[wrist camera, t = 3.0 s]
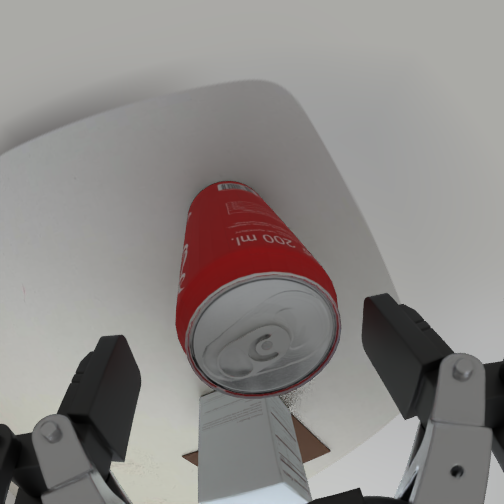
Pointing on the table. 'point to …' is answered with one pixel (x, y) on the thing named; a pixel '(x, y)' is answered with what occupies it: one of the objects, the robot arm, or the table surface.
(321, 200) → the table surface
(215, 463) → the white packaging box
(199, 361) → the beverage can
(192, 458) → the mat
